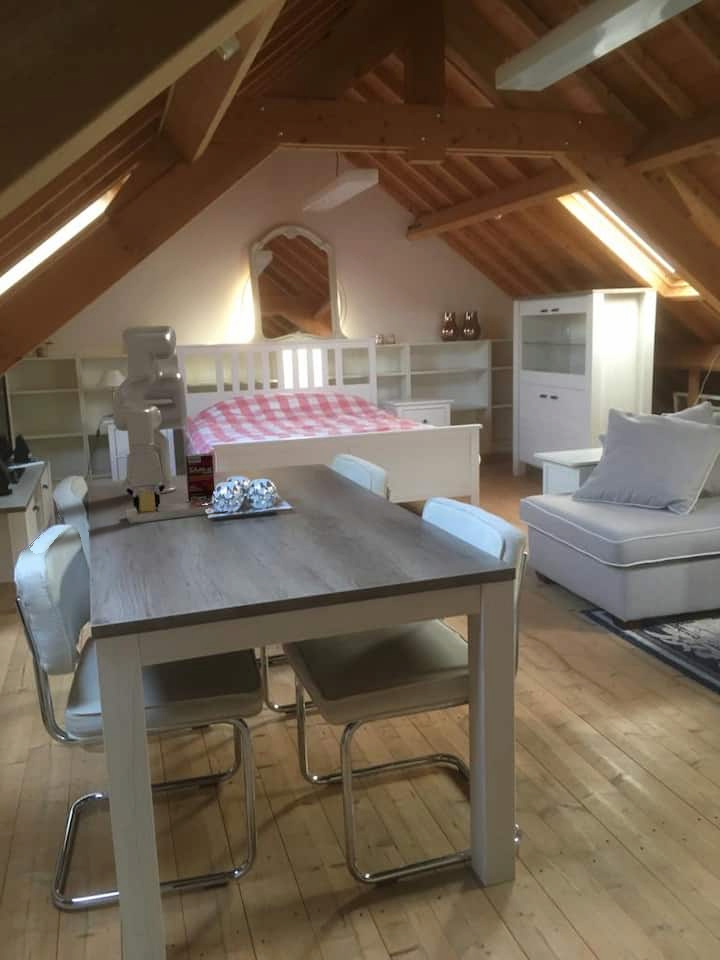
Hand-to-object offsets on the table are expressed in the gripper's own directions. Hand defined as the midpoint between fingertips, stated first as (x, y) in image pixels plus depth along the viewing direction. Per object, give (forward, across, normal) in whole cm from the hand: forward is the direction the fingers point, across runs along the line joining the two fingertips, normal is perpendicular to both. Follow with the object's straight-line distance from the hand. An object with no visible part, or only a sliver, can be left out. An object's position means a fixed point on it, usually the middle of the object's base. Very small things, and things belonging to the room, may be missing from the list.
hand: (147, 507), depth 249 cm
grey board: (+3, -9, 0) cm, 10 cm away
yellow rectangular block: (+4, 0, 0) cm, 4 cm away
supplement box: (+4, -20, -16) cm, 26 cm away
